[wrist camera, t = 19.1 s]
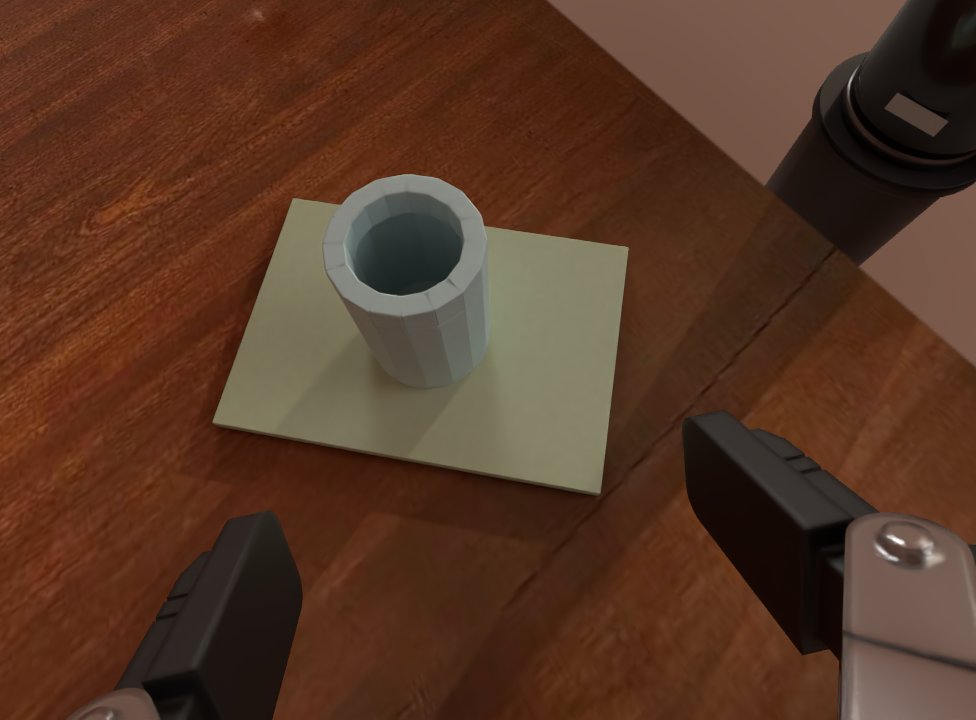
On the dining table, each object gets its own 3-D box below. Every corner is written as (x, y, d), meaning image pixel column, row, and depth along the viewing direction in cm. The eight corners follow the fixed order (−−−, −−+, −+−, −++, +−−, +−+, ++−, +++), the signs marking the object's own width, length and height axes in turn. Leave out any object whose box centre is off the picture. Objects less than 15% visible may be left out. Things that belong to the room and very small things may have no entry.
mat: (625, 254, 33) (628, 247, 32) (597, 496, 28) (600, 494, 27) (297, 205, 35) (292, 197, 34) (218, 426, 30) (211, 423, 29)
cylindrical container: (499, 289, 31) (499, 186, 23) (477, 398, 29) (468, 328, 21) (387, 271, 32) (347, 164, 24) (357, 377, 30) (302, 301, 21)
